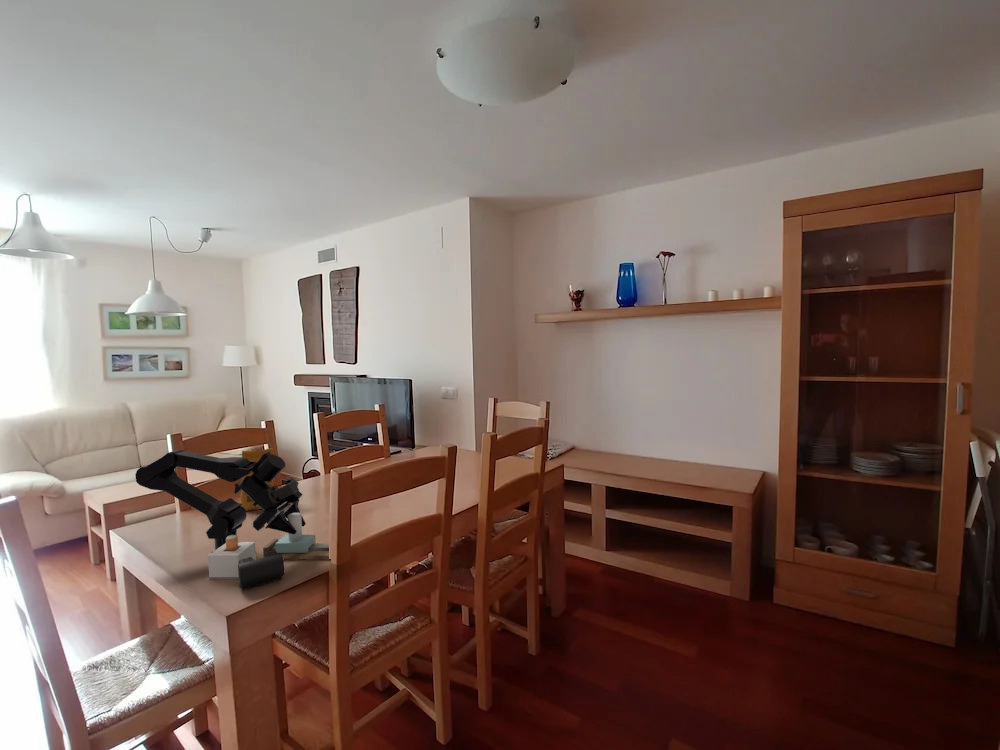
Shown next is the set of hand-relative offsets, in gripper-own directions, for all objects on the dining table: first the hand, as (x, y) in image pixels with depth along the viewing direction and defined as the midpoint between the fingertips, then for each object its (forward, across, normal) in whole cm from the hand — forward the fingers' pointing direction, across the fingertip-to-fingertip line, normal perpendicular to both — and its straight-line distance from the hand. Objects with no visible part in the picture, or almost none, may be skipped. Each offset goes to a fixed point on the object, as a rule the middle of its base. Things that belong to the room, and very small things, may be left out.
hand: (300, 529), depth 135 cm
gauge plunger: (-9, -11, +10) cm, 17 cm away
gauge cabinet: (-4, -11, +15) cm, 19 cm away
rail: (+6, 0, +4) cm, 7 cm away
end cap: (+4, -17, +7) cm, 19 cm away
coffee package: (-20, +39, +30) cm, 53 cm away
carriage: (+3, 0, +5) cm, 6 cm away
